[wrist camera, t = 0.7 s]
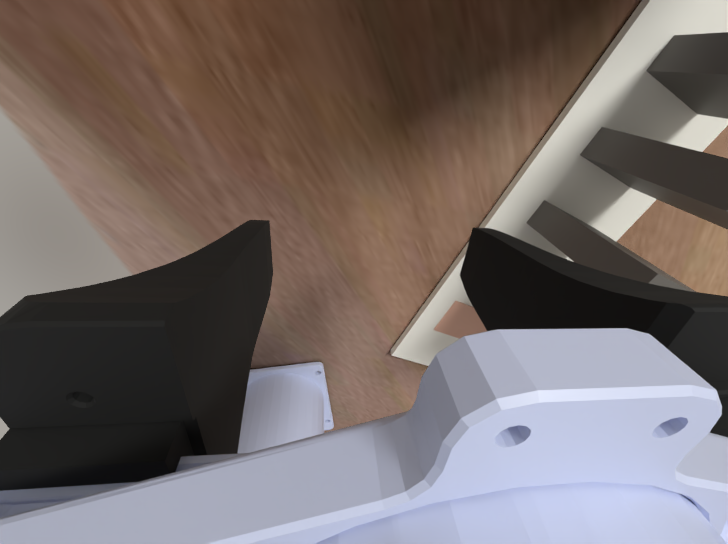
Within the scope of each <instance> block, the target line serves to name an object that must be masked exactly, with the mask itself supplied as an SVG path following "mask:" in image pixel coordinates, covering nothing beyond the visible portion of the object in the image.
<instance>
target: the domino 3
mask: <svg viewBox="0 0 728 544" xmlns="http://www.w3.org/2000/svg"><path fill="white" fill-rule="evenodd" d="M526 223H527V224H528V225H530V226H531V227H532V228H533V229H534V230H536V231H537V232H538V233H539V234H541V235H542V236H543V237H544V238H545V239H547V240H548V241H549V242H550V243H552V244H553V245H554V246H555V247H556V248H558V249H559V250H560V251H561V252H563V253H564V254H565V255H566V256H567V257H569V258H570V259H571V260H572V261H574V262H575V263H578V264H581V265H584V266H587V267H590V268H593V269H596V270H599V271H602V272H606V273H609V274H613V275H616V276H620V277H624V278H628V279H632V280H636V281H640V282H645V283H649V284H654V285H659V286H664V287H669V288H674V289H680V290H685V291H691V292H695V291H694V290H692V289H691V288H689V287H687V286H686V285H684V284H683V283H681V282H680V281H678V280H676V279H675V278H673V277H672V276H670V275H668V274H667V273H665V272H664V271H662V270H660V269H659V268H657V267H656V266H654V265H653V264H651V263H649V262H648V261H646V260H645V259H643V258H641V257H640V256H638V255H637V254H635V253H634V252H632V251H630V250H629V249H627V248H626V247H624V246H622V245H621V244H619V243H618V242H616V241H614V240H613V239H611V238H610V237H608V236H607V235H605V234H603V233H602V232H600V231H599V230H597V229H595V228H594V227H592V226H590V225H588V224H587V223H585V222H583V221H581V220H579V219H578V218H576V217H574V216H572V215H570V214H569V213H567V212H565V211H563V210H561V209H560V208H558V207H556V206H554V205H552V204H551V203H549V202H547V201H545V200H544V201H543V202H542V203H541V205H540V206H539V207H538V209H537V210H536V211H535V212H534V214H533V215H532V216H531V217H530V219H529V220H528V221H527V222H526Z"/></svg>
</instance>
